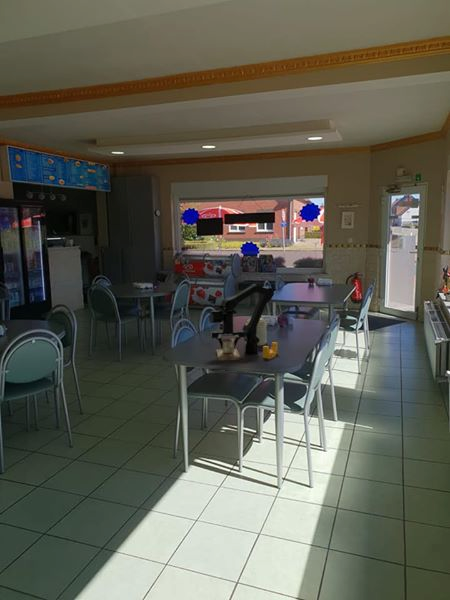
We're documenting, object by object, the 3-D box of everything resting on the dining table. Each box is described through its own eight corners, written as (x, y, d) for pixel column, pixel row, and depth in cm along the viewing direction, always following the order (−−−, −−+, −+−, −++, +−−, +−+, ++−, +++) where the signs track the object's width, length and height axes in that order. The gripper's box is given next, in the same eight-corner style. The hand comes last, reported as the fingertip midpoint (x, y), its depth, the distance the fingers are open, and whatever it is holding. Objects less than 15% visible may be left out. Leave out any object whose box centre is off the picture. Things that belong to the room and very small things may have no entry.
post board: (236, 350, 270) (236, 341, 269) (240, 359, 252) (240, 349, 251) (216, 351, 269) (216, 342, 268) (218, 360, 251) (218, 350, 250)
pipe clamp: (269, 359, 254) (270, 347, 253) (262, 358, 256) (263, 346, 255) (280, 354, 263) (280, 343, 262) (273, 352, 266) (273, 342, 265)
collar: (233, 349, 263) (233, 338, 262) (234, 352, 257) (234, 341, 256) (221, 349, 263) (221, 339, 262) (222, 352, 256) (222, 342, 255)
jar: (242, 344, 283) (242, 316, 280) (249, 339, 295) (249, 312, 292) (263, 346, 279) (263, 317, 276) (269, 341, 291) (269, 313, 288)
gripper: (242, 318, 266) (242, 344, 269) (210, 319, 264) (210, 345, 267) (245, 322, 255) (245, 350, 258) (211, 323, 253) (211, 351, 256)
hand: (228, 349), depth 260 cm, fingers closed on collar, 6 cm apart
